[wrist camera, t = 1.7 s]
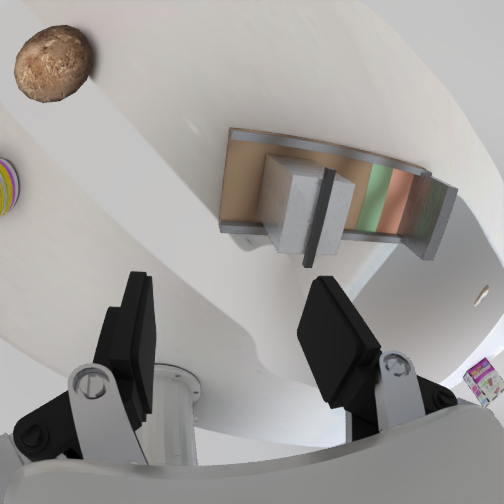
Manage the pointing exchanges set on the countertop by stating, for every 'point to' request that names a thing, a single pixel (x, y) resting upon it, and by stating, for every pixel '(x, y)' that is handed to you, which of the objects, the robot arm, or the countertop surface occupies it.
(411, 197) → the upright gray plate
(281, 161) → the block
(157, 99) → the countertop surface
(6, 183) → the supplement bottle
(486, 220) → the countertop surface
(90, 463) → the robot arm
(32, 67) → the mushroom
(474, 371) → the candy bar box
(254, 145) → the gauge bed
